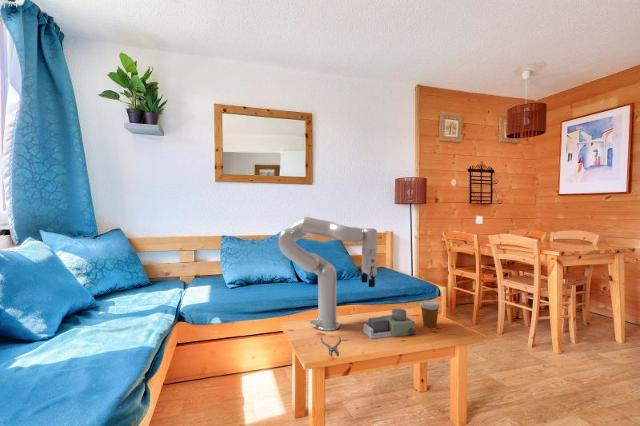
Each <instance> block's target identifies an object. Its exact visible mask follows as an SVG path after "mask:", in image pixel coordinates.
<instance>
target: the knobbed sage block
mask: <svg viewBox="0 0 640 426" xmlns="http://www.w3.org/2000/svg"><path fill="white" fill-rule="evenodd" d="M380 317H384V318H386V319H387V320H388V331H387V332H380V333H373V329H372V328H371V327H370V326H369V324H367V323H363V328H362V332H363V333H364V334H365V335H366V336H367V337H368V338H369V339H371V340H374V339H381V338H388V337H392V338H397V337H402V336H409V335H411V336H414V335H416V329H415V328H416V326H415V325H416V323H415V321H414V320H412V319H411V318H409V317H407V310H405V309H402V308H393V309H392V310H391V314H389V315H382V316H380Z"/></svg>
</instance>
